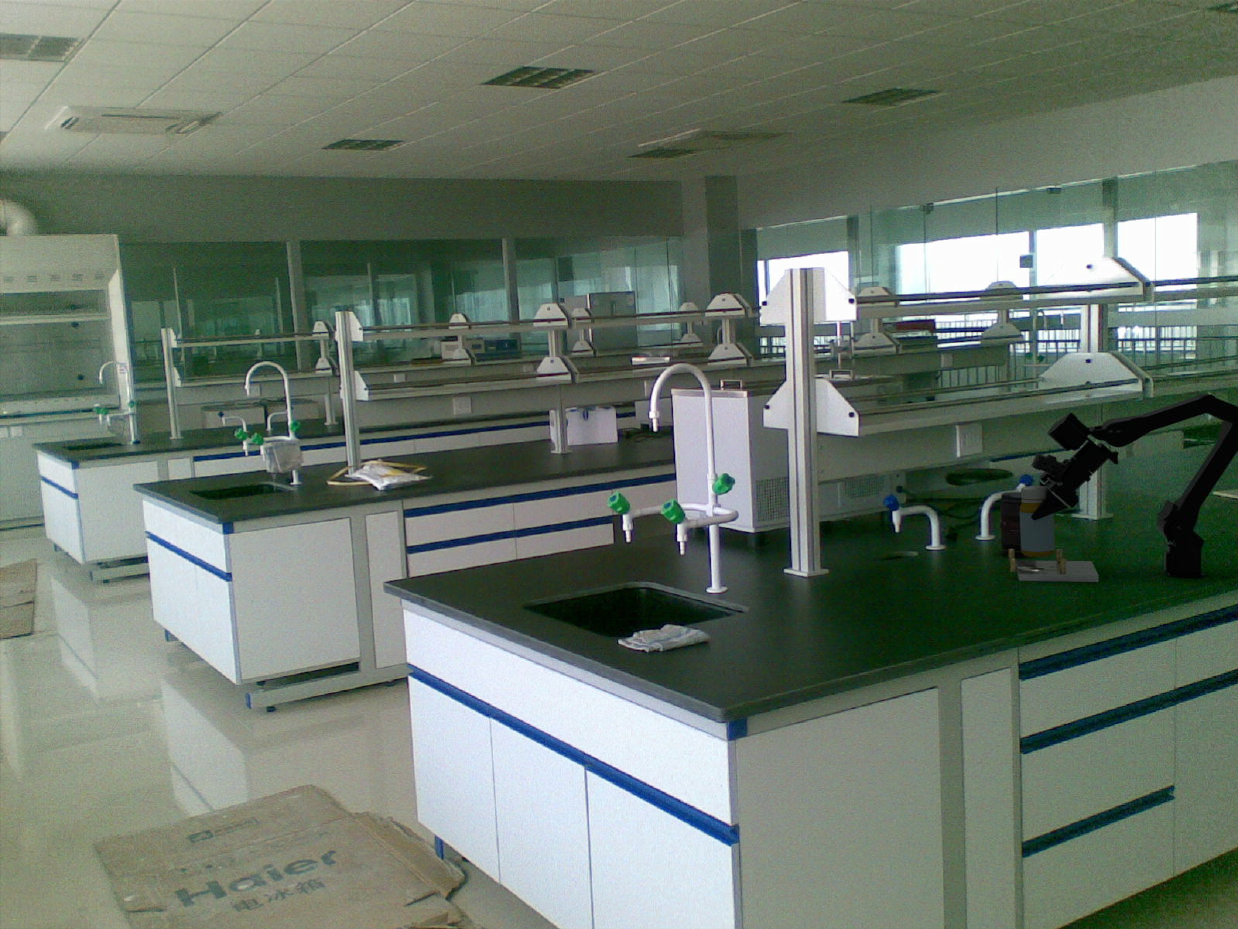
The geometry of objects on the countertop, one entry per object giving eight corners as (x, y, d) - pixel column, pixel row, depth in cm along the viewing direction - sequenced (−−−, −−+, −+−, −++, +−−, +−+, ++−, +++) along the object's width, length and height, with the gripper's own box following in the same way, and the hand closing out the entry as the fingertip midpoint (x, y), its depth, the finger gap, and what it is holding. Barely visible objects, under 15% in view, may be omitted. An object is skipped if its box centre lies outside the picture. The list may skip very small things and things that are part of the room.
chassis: (1091, 567, 245) (1091, 548, 245) (1098, 582, 232) (1098, 561, 232) (1008, 566, 251) (1008, 547, 250) (1010, 580, 238) (1010, 560, 237)
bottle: (1057, 552, 243) (1054, 485, 242) (1052, 557, 237) (1050, 489, 235) (1024, 551, 246) (1021, 486, 245) (1018, 556, 240) (1016, 489, 239)
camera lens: (1014, 560, 257) (1013, 497, 256) (994, 554, 265) (993, 493, 263) (1043, 556, 259) (1043, 494, 258) (1022, 550, 267) (1022, 490, 265)
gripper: (1048, 436, 247) (998, 485, 251) (1061, 445, 229) (1007, 498, 233) (1085, 469, 246) (1035, 518, 250) (1101, 480, 228) (1046, 533, 232)
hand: (1030, 516), depth 241 cm, fingers closed on bottle, 7 cm apart
